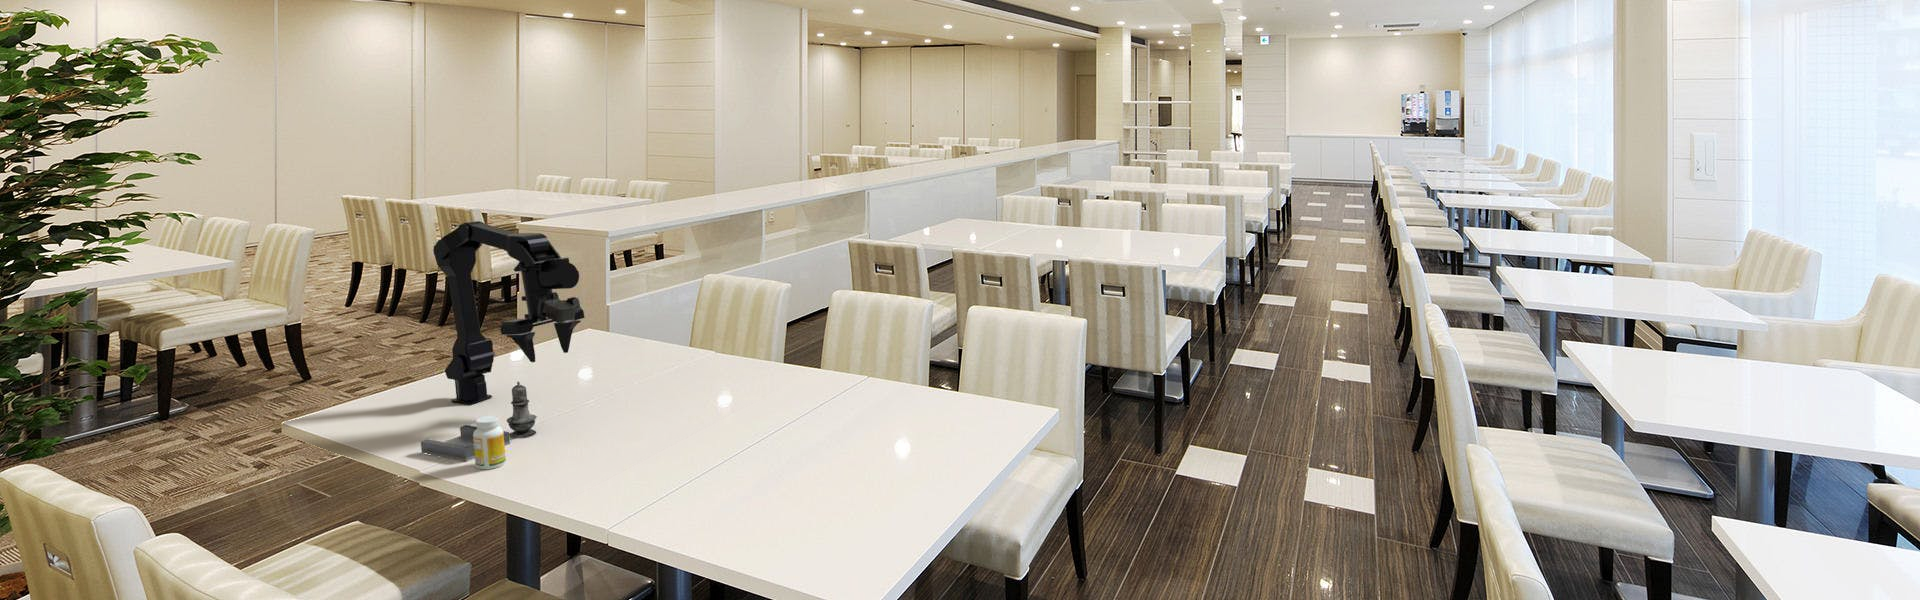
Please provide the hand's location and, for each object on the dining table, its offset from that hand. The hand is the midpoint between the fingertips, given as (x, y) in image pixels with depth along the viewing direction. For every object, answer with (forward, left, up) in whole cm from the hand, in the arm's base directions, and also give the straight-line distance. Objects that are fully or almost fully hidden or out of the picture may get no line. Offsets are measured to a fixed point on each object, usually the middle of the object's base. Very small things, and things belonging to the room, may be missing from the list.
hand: (549, 357), depth 208 cm
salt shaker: (+3, -12, -14) cm, 19 cm away
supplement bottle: (+11, -28, -14) cm, 33 cm away
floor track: (-1, -23, -14) cm, 27 cm away
